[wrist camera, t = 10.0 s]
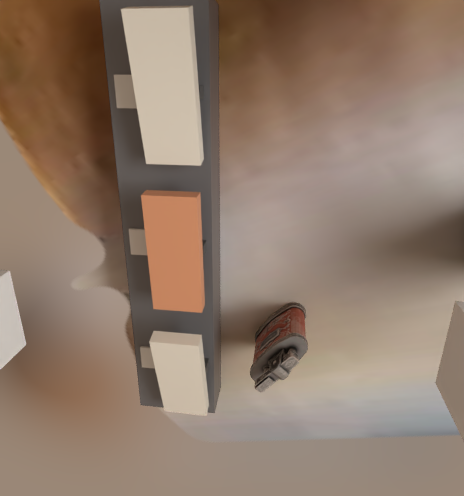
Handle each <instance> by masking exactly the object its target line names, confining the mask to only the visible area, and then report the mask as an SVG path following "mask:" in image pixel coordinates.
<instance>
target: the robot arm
mask: <svg viewBox="0 0 464 496" xmlns="http://www.w3.org/2000/svg"><path fill="white" fill-rule="evenodd" d="M25 345H26V341H25V337H24V332H23V328H22V323H21V319H20V315H19V310H18V305H17V301H16V297H15V292H14V287H13V283H12V279H11V274H10V271H9V270H0V369H1V368H2V367H4V366H5V364H6V363H8V362H9V361H10V360H11V359H12V357H14V356H15V355H16V354H17V353H18V352H19V351H20V350H21V349H22V348H23V347H24V346H25ZM436 385H437V387H438V389H439V391H440V393H441V395H442V397H443V399H444V401H445V403H446V405H447V408H448V410H449V412H450V414H451V416H452V418H453V420H454V422H455V424H456V426H457V428H458V430H459V432H460V434H461V437H462V439H463V440H464V302H459V301H455V305H454V309H453V313H452V317H451V321H450V325H449V329H448V333H447V338H446V342H445V346H444V350H443V354H442V358H441V362H440V366H439V370H438V374H437V379H436Z"/></svg>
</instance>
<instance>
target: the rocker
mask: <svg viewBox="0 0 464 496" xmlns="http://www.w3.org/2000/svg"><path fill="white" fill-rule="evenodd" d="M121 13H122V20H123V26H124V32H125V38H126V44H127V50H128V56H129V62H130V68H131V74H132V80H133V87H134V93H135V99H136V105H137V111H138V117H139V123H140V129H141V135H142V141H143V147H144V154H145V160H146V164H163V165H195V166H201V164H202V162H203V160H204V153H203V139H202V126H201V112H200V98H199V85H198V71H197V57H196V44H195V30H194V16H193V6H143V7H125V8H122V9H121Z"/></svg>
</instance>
